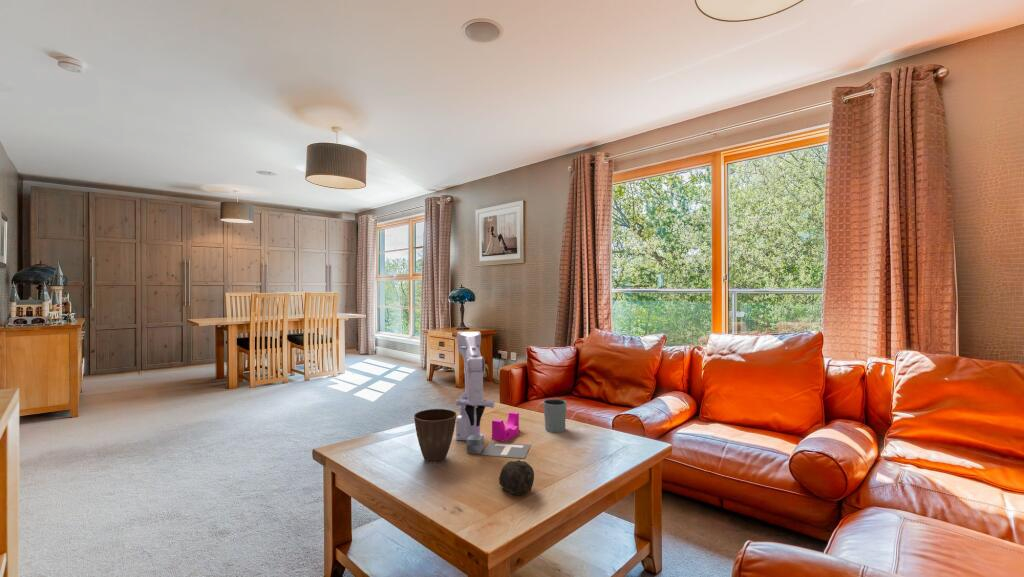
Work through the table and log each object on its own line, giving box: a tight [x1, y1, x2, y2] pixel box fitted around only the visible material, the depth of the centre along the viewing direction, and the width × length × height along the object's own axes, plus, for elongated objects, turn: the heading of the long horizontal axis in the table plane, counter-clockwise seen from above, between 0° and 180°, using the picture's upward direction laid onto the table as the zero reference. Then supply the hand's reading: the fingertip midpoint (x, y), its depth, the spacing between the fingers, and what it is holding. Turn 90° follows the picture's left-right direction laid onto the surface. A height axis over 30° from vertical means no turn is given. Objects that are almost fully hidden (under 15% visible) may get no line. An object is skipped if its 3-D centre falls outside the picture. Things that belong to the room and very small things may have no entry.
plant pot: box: [413, 408, 457, 464], centre depth 158 cm, size 15×15×16 cm
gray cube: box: [466, 435, 484, 455], centre depth 167 cm, size 5×5×5 cm
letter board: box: [480, 441, 532, 460], centre depth 167 cm, size 16×14×1 cm
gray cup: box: [542, 398, 568, 434], centre depth 192 cm, size 10×10×12 cm
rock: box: [498, 459, 535, 496], centre depth 134 cm, size 10×11×10 cm
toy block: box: [491, 411, 520, 442], centre depth 185 cm, size 15×6×8 cm, turn 148°
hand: (475, 425), depth 167 cm, fingers closed
